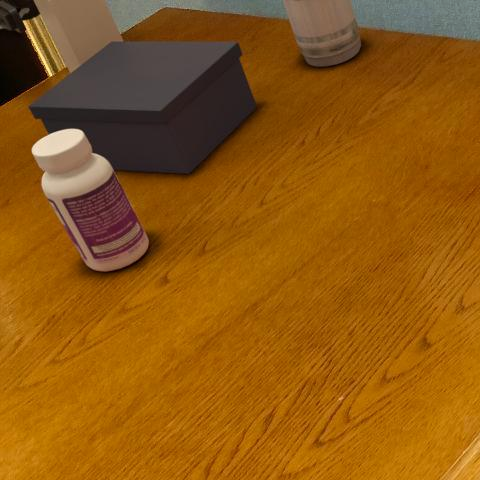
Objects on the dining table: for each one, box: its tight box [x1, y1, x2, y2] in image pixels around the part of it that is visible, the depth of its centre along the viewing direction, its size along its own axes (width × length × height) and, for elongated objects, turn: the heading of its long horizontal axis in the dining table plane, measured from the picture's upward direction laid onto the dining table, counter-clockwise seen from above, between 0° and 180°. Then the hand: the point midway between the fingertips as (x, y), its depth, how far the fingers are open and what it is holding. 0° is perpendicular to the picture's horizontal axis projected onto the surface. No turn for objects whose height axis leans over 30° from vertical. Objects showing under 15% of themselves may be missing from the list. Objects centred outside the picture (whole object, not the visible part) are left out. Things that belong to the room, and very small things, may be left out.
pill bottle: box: [31, 129, 150, 272], centre depth 77 cm, size 5×5×10 cm
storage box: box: [27, 41, 258, 175], centre depth 92 cm, size 15×13×6 cm
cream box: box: [34, 0, 125, 74], centre depth 100 cm, size 5×5×10 cm
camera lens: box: [282, 0, 362, 68], centre depth 97 cm, size 6×6×8 cm
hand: (58, 4), depth 100 cm, fingers open, 8 cm apart
